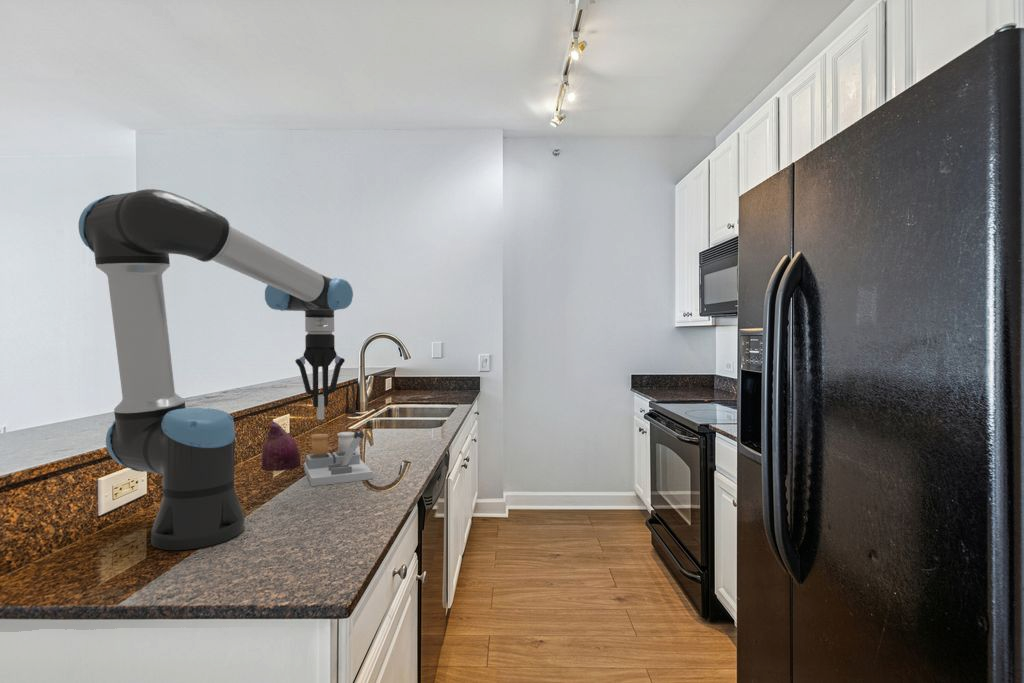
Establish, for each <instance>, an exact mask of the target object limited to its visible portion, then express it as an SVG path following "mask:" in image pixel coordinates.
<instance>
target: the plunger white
mask: <svg viewBox="0 0 1024 683" xmlns="http://www.w3.org/2000/svg"><path fill="white" fill-rule="evenodd" d="M336 434H337V437H338V438H337V439H338V444H337V445H338V446H337V447H338V448H337V449H338V450H337V452H342V453H345V452H346V451H347V450H348V448H349V446H350V444H351V442H352V440H353V438H354V434H355V432H354V431H340V432H338V433H336Z"/></svg>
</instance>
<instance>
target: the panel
mask: <svg viewBox="0 0 1024 683" xmlns="http://www.w3.org/2000/svg"><path fill="white" fill-rule="evenodd" d="M345 453H346V452H345ZM345 453H342V452H338V451H334V452H332V454H331V453H330V452H327V454H323V455H312V454H306V455H305V462H304V463H303V471H304V473H305V475H306V478H307V479H308V482H309V484H310V486H311V487H317V486H326V485H336V484H342V483H351V482H353V483H354V482H360V481H369V480H373V471H372V469H370V468H369V466H367V464H366V463H365V462H364V461H363V460H362V459H361V456H360V455H361V454H359V453H358V451H357V450H355V452H354V454H353V456H352V458H351V459H350V461H349V463H348V465H347V467H339V465H340V463H341V461H342V459H343V457H344V455H345Z"/></svg>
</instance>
